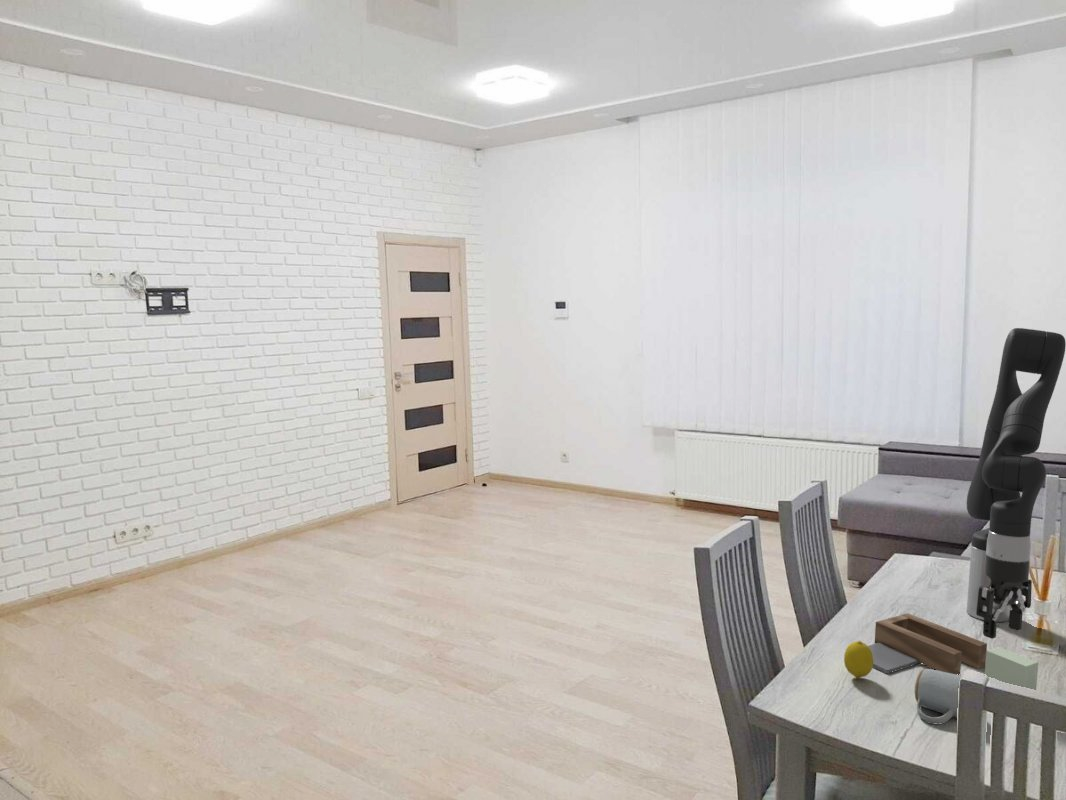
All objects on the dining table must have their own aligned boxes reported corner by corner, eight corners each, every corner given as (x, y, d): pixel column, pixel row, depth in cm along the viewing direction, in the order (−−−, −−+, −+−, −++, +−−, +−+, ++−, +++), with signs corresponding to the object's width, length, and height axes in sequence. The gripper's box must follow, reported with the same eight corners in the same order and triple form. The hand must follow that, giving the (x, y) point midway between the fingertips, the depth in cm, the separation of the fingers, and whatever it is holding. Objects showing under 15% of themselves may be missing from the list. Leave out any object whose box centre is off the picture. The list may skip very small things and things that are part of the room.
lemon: (874, 685, 162) (876, 647, 161) (845, 683, 164) (847, 645, 163) (869, 673, 168) (871, 636, 167) (841, 671, 169) (842, 634, 168)
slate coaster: (878, 646, 181) (878, 642, 181) (918, 663, 172) (918, 660, 172) (847, 655, 176) (847, 651, 176) (886, 673, 168) (887, 670, 168)
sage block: (996, 679, 166) (998, 646, 165) (1035, 695, 159) (1038, 662, 158) (983, 683, 164) (986, 650, 163) (1023, 700, 157) (1026, 666, 156)
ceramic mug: (924, 696, 158) (926, 658, 157) (970, 710, 153) (972, 672, 152) (905, 717, 151) (907, 678, 150) (953, 733, 145) (955, 692, 144)
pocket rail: (906, 633, 188) (908, 613, 187) (985, 666, 171) (987, 643, 171) (874, 643, 183) (875, 622, 182) (952, 677, 166) (954, 654, 165)
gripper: (1004, 565, 153) (999, 647, 155) (1048, 554, 160) (1042, 633, 162) (967, 554, 160) (962, 633, 162) (1010, 544, 167) (1005, 620, 169)
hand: (1002, 633), depth 162 cm, fingers open, 8 cm apart
